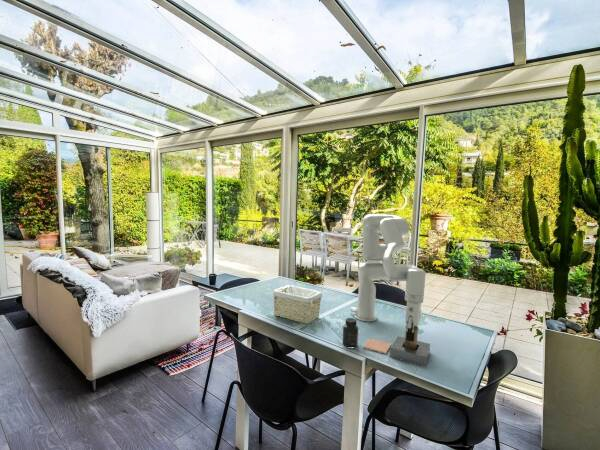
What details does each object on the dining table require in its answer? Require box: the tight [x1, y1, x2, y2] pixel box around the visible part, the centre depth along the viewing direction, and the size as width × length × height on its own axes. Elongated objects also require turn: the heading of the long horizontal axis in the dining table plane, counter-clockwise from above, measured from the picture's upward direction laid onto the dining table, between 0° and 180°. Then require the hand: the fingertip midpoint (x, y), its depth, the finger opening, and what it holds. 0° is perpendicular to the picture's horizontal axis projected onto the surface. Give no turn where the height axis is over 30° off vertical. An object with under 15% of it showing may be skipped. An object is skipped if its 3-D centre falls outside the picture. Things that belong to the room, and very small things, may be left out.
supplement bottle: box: [341, 317, 359, 348], centre depth 140 cm, size 7×7×12 cm
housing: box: [389, 335, 431, 367], centre depth 134 cm, size 14×14×4 cm
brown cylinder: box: [404, 324, 419, 350], centre depth 134 cm, size 5×5×10 cm
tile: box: [362, 338, 392, 355], centre depth 140 cm, size 10×10×1 cm
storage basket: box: [272, 284, 323, 325], centre depth 173 cm, size 24×16×15 cm
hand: (411, 337), depth 134 cm, fingers closed on brown cylinder, 5 cm apart
